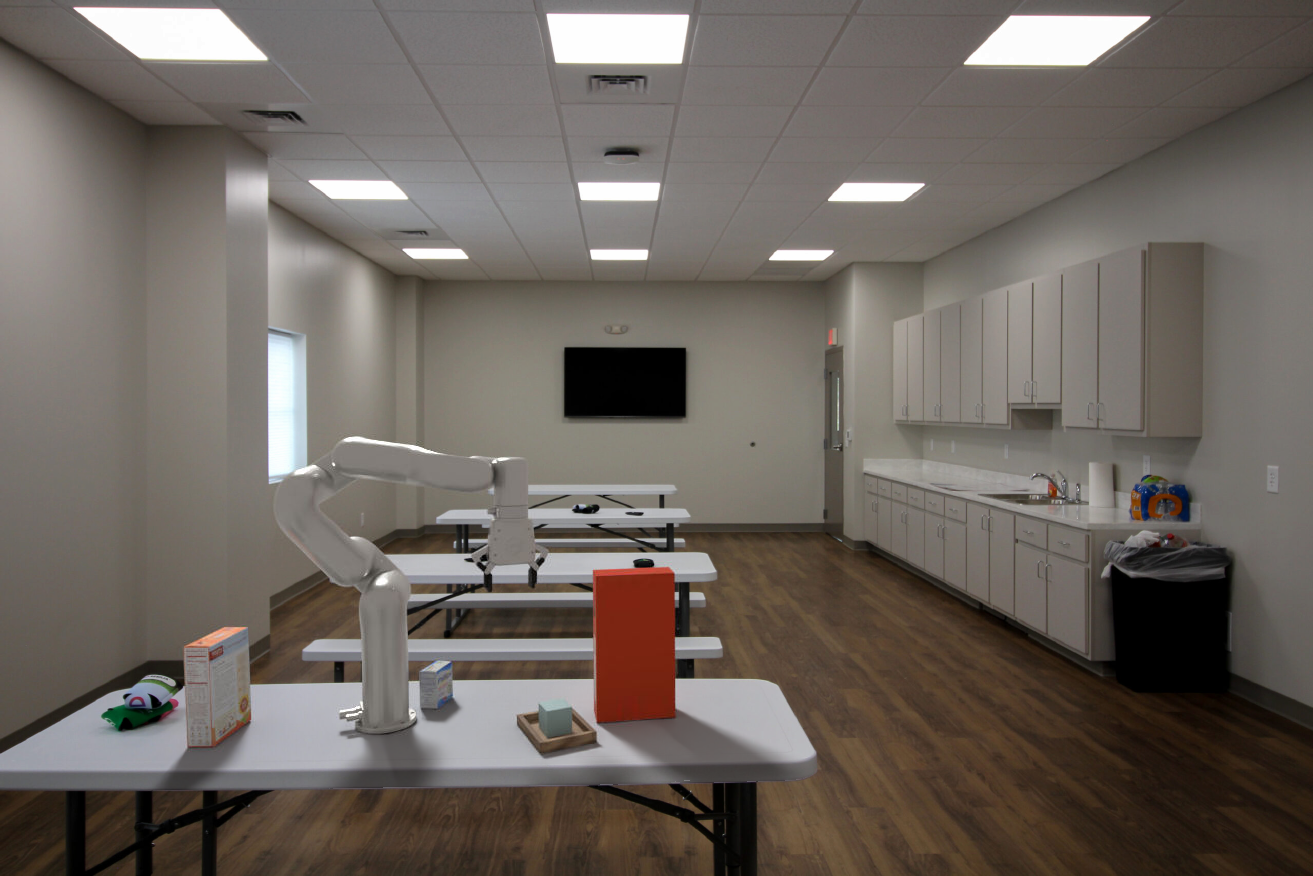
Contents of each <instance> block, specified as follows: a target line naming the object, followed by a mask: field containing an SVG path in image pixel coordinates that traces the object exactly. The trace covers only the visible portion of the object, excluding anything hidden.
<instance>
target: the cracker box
mask: <svg viewBox="0 0 1313 876" xmlns="http://www.w3.org/2000/svg"><path fill="white" fill-rule="evenodd" d="M249 645H250V643H249V627H248V626H239V627H237V626H225V627H222V628H220V629H218V630H215V631H214V632H211V633H209V634H207V635H205V636H203V637H201V638H199V639H197V640H195V641H193V642H191V643H188V644H187V645H184V646H183V647H182V650H183V651H182V653H183V671H184V673H183V674H184V675H183V677H184V695H185V696H184V697H185V718H186V720H185V721H186V740H187V741H186V742H187V743H186V744H187V748H215V747H216V746H217V745H219V744H220V743H221V742H223V741H225V740H226V739H227V738H228V737H230V736H231V735H232V734H234V733H236V732H237V731H238V730H240V729H241V728H242V727H243V726H245V725H246V724H248V723H249V722H250V721H252V701H251V700H252V699H251V695H252V694H251V674H250V672H251V671H250V668H251V667H250V648H249V647H250V646H249Z"/></svg>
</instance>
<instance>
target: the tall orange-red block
mask: <svg viewBox="0 0 1313 876" xmlns="http://www.w3.org/2000/svg"><path fill="white" fill-rule="evenodd" d="M675 574H676V573H675V572H674V571H673V570H672V568H670V566H662V567H661V566H659V567H656V566H654V567H635V568H634V567H631V568H608V569H593V570H592V616H593V617H592V620H593V622H592V625H593V626H592V628H593V630H592V632H593V633H592V635H593V636H592V637H593V639H592V641H593V643H592V647H593V649H592V650H593V655H592V656H593V712H594V717H595V721H596V723H597V724H598V723H610V722H612V723H613V722H625V721H641V720H652V719H654V720H655V719H666V718H667V719H668V718H676V592H675V591H676V589H675V588H676V587H675V586H676V584H675V581H676V579H675V578H676V577H675V576H676V575H675Z"/></svg>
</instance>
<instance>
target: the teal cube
mask: <svg viewBox="0 0 1313 876" xmlns="http://www.w3.org/2000/svg"><path fill="white" fill-rule="evenodd" d="M572 708H573V706H572V705H571V704H570V703H569V702H568V701H567V700H566V699H565V698H564V697H562V698H557V699H556V698H555V699H550V700H545V701H544V700H543V701H538V711H539V729H540V730H541V731H542V733H543V734H544V735H545V736H546V738H549V737H554V736H559V735H564V734H570V733H572Z"/></svg>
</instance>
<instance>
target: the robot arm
mask: <svg viewBox="0 0 1313 876" xmlns="http://www.w3.org/2000/svg"><path fill="white" fill-rule="evenodd" d="M359 479H362V480H371V481H372V480H373V481H380V482H381V481H382V482H389V483H395V484H403V485H408V486H414V487H422V488H423V487H424V488H431V489H437V490H443V491H445V490H446V491H452V492H460V493H468V494H477V493H482V492H484V491H486V490H488V489H489V488H493V504H492V507H490V508H488V507H487V509H486V510H487V511H486V512H487V515H490V516H493V518H491V519H490V521H489V527H488V534H487V544H486V545H484V546H483V547H481V548H479V549H478V550H475V551H474V552H472V553H471V555H470V557H471V559H472V560H473V562H474V565H475V566H476V567H477V568H478V569H480V571H481V572H483V588H484V589H485V590H486V591H487V592H488V593H492V592H493V574H492V571H493V570H494V568H495V567H496V566H498V567H501V566H503V567H504V566H515V565H516V566H517V565H528V566H529V568H528V572H527V573H528V574H527V575H528V577H527V579H528V580H527V584H528V585H527V586H528V587H529V588H531V589H535V588H536V584H538V570H539V569H540V567H541V566H542V565H543V564H544V563H545V562H546V559H547V556H548V554H549V553H550V550H549V549H548V548H546V547H544V546H542V545H539V544H538V543H536V541H535V531H534V530H535V529H534V523H533V518H531V517H529V461H528V460H527V458H524V457H521V456H519V457H518V456H505V457H503V456H502V457H489V456H488V457H487V456H483V455H482V456H481V455H473V456H462V455H461V456H459V455H452V454H446V453H442V452H441V453H439V452H436V451H435V452H434V451H431V450H427V449H425V448H424V447H420V446H418V445H413V444H406V443H405V444H404V443H398V442H389V441H384V440H376V439H370V438H367V437H364V436H351V437H346V438H344V439H341V440H340V441H338V442H337V443H336V444H335V446H334V447H333V449H332V450H331V451H330V452H328V453H326V454H325V455H323V456H322V457H320V458H319V459H317V460H316V461H314V462H313V463H311V464H309V465H307V466H306V467H302V468H299V469H296V470H292V471H291V472H290V473H288V474H287V475H286V476H285V477H283V478H282V480H281V481H280V483H279V484H278V486H277V487H276V491H275V493H274V497H273V505H272V508H273V514H274V518H275V521H276V523H277V525H278V528H280V530H281V532H283V533H284V535H285V536H287V537H286V538H288V539H289V540H290V541H291V542H292V543H293V544H294V545H295V546H296V547H298V549H300V551H301V552H303V554H305V556H306V557H307V558H308V559H309V560H310V561H311V562H313V563H314V565H315V566H317V568H319V569H320V570H321V571H322V572H323V573H324V575H326V576H327V577H328V578H329V579H330V580H331V581H332V582H333V583H334V584H336V585H337V586H339V587H343V588H350V587H354V588H356V589H357V590H358V591H359V592H360V594H361V595H360V597H359V602H358V616H359V619H358V620H359V629H360V644H361V647H360V648H361V649H360V650H361V651H360V652H361V689H362V690H361V692H362V697H361V698H362V700H361V701H359V705H357V706H355V707H354V708H350V709H349V708H346V709H341V710H339V713H338V715H339V720H346V722H353V721H354V726H355V727H354V728H355V729H356V730H357V731H359V732H361V733H364V734H370V735H371V734H372V735H373V734H374V735H375V734H376V735H379V734H388V733H394V732H397V731H401V730H405V729H407V728H408V727H410V726H412V725H413V724H414V723H415V722H416V721H417V717H418V716H417V712H416V710H414V709H413V708H410V689H409V688H410V687H409V683H410V681H409V679H410V678H409V639H408V638H409V635H408V609H407V608H408V603H409V601H410V599H411V594H412V585H411V583H410V580H409V577H407V576H406V574H405V573H404V572H403V570H401V569H400V568H399V567H398V566H397V565H396V564H395V563H394V562H393V561H391V559H390V558H389V557H388V556H386V554H385V553H384V552H382V550H380V549H379V548H378V547H377V545H376V544H374V543H373V542H372V541H370V540H368V539H366V538H365V537H361V536H349V535H348V534H347V533H346V532H345V531H343V530H342V529H341V527H339V526H338V524H337V523H336V522H334V521H333V519H331V518H330V517H328V516H327V515H326V514H325V513H323V511H322V509H321V508H320V504H322V503H324V502H325V501H327V500H329V499H330V498H332V497H333V496H335V495H336V494H338V493H339V492H340V491H342V490H343V489H346V488H348V486H350V485H351V484H353V483H355V482H356V481H357V480H359ZM536 551H538V552H539V553H540V554H539V556H538V557H537V558H536ZM484 555H486V559H487V561H486V563H485V564H484V563H483V562H482V561H481V557H482V556H484Z"/></svg>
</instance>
